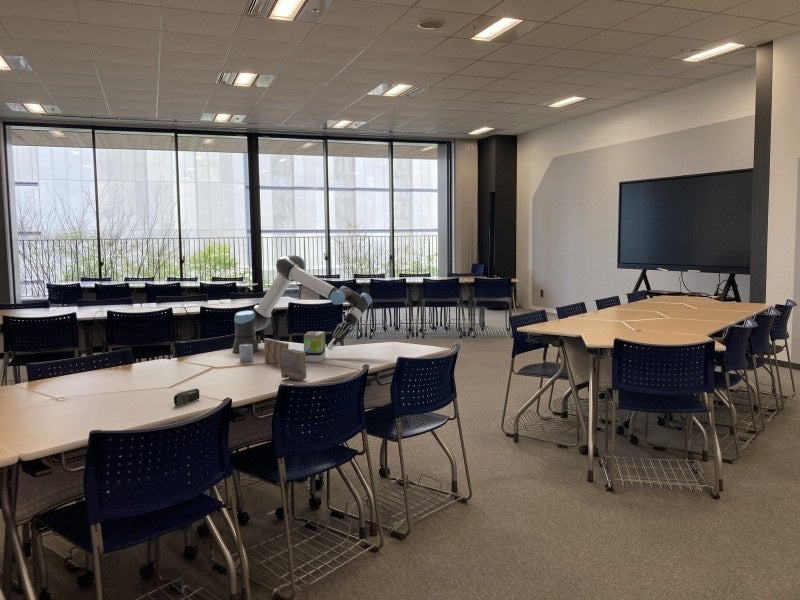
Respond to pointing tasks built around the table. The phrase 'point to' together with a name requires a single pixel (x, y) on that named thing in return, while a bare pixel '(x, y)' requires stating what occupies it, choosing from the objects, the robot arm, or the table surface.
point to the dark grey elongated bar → (186, 397)
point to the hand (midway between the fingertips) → (328, 348)
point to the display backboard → (274, 350)
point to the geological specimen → (293, 364)
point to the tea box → (314, 346)
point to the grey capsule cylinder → (246, 352)
